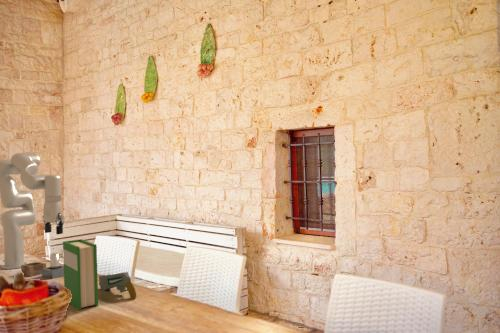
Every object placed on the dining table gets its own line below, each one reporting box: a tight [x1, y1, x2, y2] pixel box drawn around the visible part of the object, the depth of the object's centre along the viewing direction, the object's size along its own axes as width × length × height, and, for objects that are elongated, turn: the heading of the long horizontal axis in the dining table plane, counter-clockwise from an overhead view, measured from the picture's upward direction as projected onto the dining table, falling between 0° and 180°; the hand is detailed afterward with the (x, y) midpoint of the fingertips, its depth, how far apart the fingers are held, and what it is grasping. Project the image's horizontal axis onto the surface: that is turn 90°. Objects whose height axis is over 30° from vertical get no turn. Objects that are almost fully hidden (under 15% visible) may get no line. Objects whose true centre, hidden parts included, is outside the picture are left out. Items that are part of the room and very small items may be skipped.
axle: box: [49, 252, 60, 270], centre depth 215 cm, size 4×4×11 cm
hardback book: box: [62, 239, 99, 311], centre depth 170 cm, size 18×7×24 cm, turn 40°
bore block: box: [20, 261, 47, 278], centre depth 220 cm, size 8×8×5 cm
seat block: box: [41, 264, 64, 280], centre depth 215 cm, size 9×9×4 cm
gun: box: [98, 271, 137, 300], centre depth 182 cm, size 3×25×15 cm, turn 50°
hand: (53, 233), depth 215 cm, fingers open, 9 cm apart
